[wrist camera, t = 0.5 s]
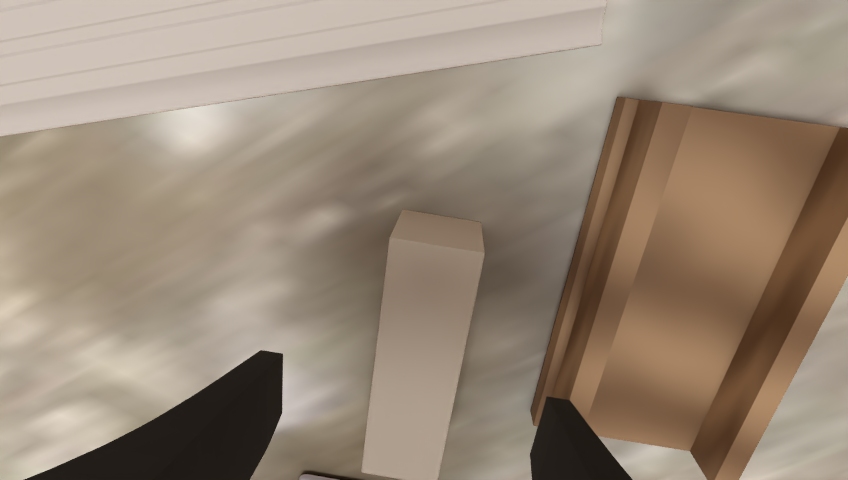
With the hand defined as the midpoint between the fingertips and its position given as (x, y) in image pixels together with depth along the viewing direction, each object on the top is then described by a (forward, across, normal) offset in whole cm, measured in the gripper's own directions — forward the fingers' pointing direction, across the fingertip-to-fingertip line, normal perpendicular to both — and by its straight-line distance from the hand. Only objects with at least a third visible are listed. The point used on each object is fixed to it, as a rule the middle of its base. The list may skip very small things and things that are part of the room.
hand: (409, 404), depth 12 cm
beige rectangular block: (+10, 0, +4) cm, 10 cm away
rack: (+9, -11, 0) cm, 14 cm away
